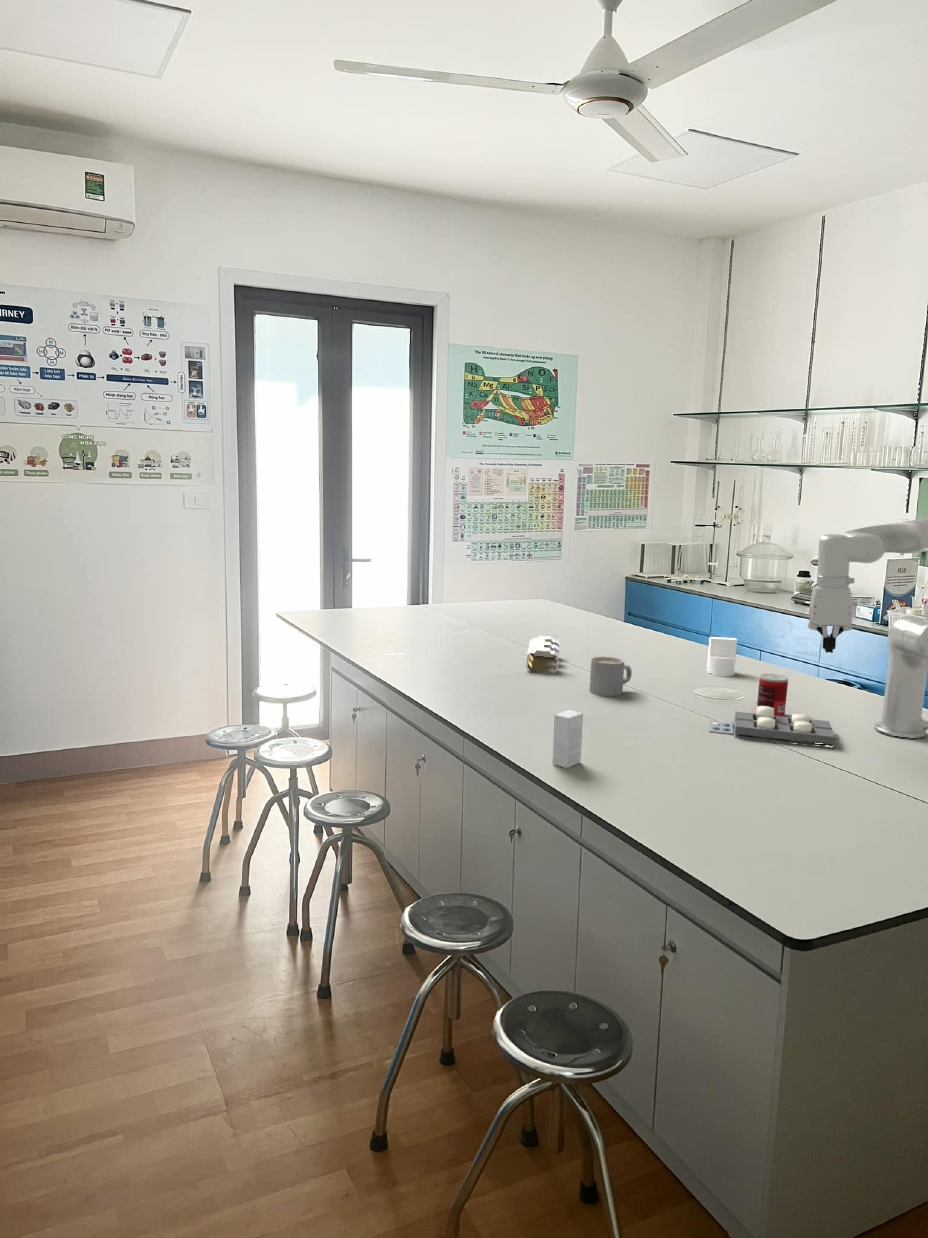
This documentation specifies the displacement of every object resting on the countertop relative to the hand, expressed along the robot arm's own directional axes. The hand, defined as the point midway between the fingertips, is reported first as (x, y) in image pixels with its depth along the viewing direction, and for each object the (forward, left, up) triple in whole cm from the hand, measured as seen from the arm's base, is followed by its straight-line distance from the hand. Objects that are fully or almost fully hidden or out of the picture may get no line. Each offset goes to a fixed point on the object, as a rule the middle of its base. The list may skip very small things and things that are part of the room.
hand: (828, 651), depth 238 cm
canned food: (+12, -14, -22) cm, 29 cm away
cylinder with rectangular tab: (+26, -62, -22) cm, 71 cm away
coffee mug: (+58, -21, -22) cm, 65 cm away
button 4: (+5, +10, -21) cm, 23 cm away
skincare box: (+60, +50, -22) cm, 81 cm away
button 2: (+14, +10, -21) cm, 27 cm away
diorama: (+85, -49, -23) cm, 101 cm away
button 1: (+14, +2, -19) cm, 24 cm away
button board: (+13, +6, -22) cm, 27 cm away
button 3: (+5, +2, -21) cm, 21 cm away
